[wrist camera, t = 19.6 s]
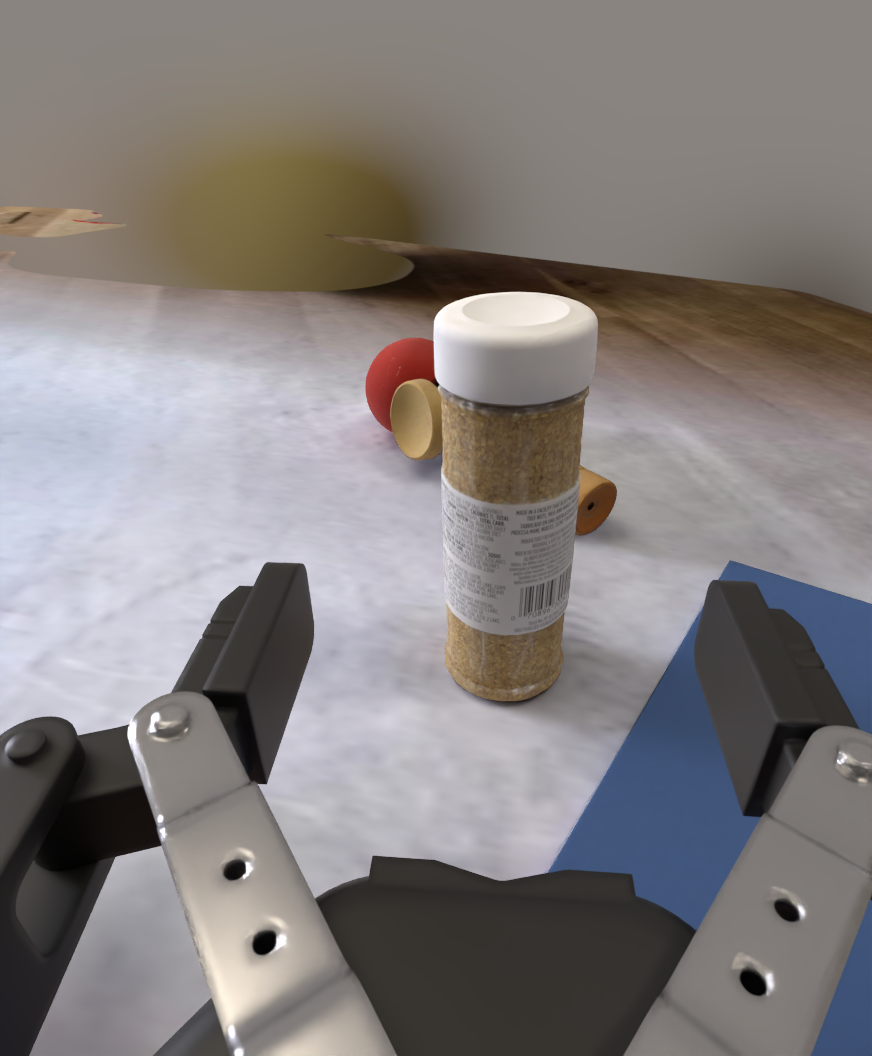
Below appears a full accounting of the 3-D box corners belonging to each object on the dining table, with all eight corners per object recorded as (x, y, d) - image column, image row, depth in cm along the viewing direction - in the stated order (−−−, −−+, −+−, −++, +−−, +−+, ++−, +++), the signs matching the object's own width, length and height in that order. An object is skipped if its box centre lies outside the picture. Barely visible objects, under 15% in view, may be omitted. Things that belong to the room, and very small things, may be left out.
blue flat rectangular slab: (1050, 1676, 10) (1070, 1678, 9) (412, 1112, 15) (411, 1101, 15) (1029, 661, 26) (1036, 649, 26) (728, 567, 31) (731, 556, 31)
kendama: (645, 522, 37) (441, 383, 48) (663, 427, 32) (433, 298, 43) (538, 596, 34) (346, 431, 45) (541, 503, 30) (327, 344, 40)
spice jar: (527, 611, 29) (548, 279, 22) (586, 686, 25) (635, 319, 18) (425, 641, 28) (409, 298, 20) (472, 724, 24) (473, 345, 17)
